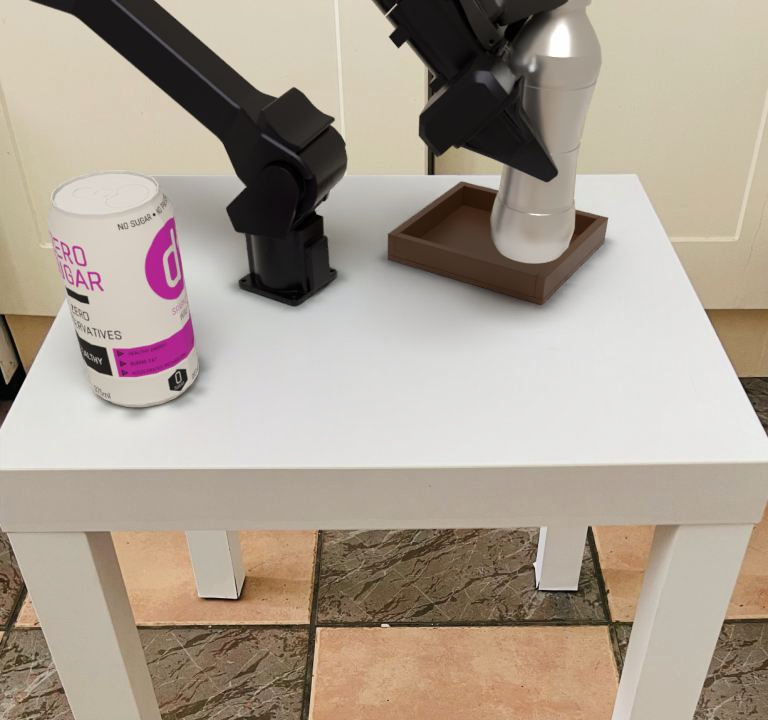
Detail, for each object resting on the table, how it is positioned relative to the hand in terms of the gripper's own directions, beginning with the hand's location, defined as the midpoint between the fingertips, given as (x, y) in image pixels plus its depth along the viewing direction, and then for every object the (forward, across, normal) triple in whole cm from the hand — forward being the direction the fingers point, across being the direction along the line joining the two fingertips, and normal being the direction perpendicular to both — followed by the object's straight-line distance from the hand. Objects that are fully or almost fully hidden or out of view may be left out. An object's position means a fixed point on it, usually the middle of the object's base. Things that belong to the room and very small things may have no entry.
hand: (557, 162), depth 68 cm
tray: (+6, +11, +13) cm, 18 cm away
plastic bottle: (+4, 0, +6) cm, 8 cm away
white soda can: (-10, -16, +30) cm, 35 cm away
